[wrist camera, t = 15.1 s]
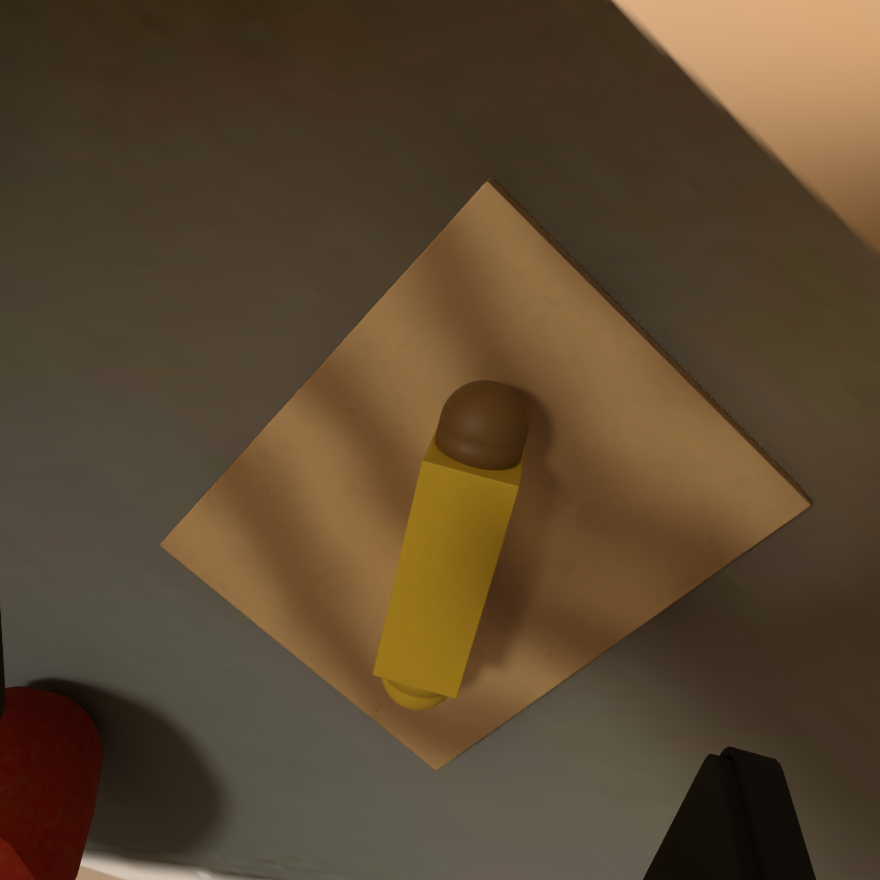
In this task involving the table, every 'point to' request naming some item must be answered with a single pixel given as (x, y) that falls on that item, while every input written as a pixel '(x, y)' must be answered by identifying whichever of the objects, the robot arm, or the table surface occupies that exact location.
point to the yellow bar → (452, 543)
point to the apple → (46, 784)
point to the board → (539, 497)
